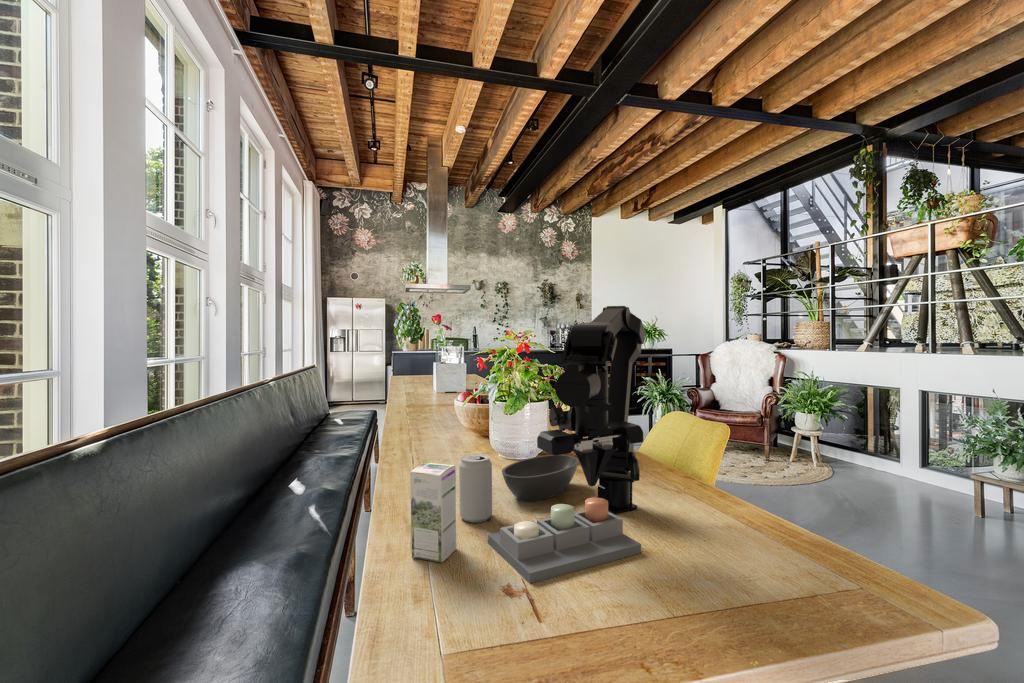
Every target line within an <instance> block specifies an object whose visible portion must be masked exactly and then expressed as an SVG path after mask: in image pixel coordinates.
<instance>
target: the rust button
mask: <svg viewBox="0 0 1024 683" xmlns="http://www.w3.org/2000/svg"><path fill="white" fill-rule="evenodd" d="M584 510H585V519H587V520H588V521H590V522H592V523H593V524H594V523H598V522H603V521H607V520H608V512H609V511H608V501H607V500H605V499H603V498H598V497H588V498H586V499H585V501H584Z"/></svg>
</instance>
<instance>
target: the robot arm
mask: <svg viewBox="0 0 1024 683" xmlns="http://www.w3.org/2000/svg"><path fill="white" fill-rule="evenodd" d="M645 332H646V331H645V328H644V324H643V321H642V319H641V318H639V317H638V316H636V315H635V314H634V313H632V312H631V310H630V308H629V306H626V305H607V306H605V307H603V308H602V311H601V312H600V313H599V314H597V316H596V317H595V318H594V319H593V320H591V321H590V322H583V323H576V324H574V325H573V326H572V327H571V328H570V330H569V331H568V333H567V336H566V341H565V345H564V349H563V353H562V358H561V362H560V363H561V366H566V371H564V372H561V374H560V375H559V376H558V377H557V379H556V382H555V384H554V391H555V395H556V397H557V398H558V400H559V401H560V402H561V404H563V405H565V406H567V407H569V410H563V408H562V407H561V406H559V407H557V406H556V407H551V408H549V411H548V412H549V414H548V421H549V425H550V426H551V427H558V429H552V430H545V431H540V433H539V434H538V436H537V438H536V440H537V441H536V442H537V443H536V444H537V448H538V449H540V450H542V451H543V452H545V453H547V454H549V455H569V454H571V453H574V454H575V457H576V458H578V459H579V463H580V467H581V469H582V472H583V474H584V477H585V480H586V482H587V485H588V486H589V487H596V485H597V498H603V499H605V500H607V501H608V512H610V513H612V514H618V513H624V512H628V511H632V510H637V509H638V505H636V504H635V503H633V484H634V483H635V482H638V481H639V482H640V479H641V478H640V477H641V476H640V474H641V473H640V471H641V470H640V466H639V465H640V464H639V460H638V459H637V454H636V452H635V451H634V449H635V448H634V446H635V445H634V444H638V443H643V442H644V431H643V429H642V427H641V425H639V424H636V423H632V422H629V412H630V411H629V408H630V399H631V398H630V396H631V388H632V387H631V384H632V371H633V364H634V363H635V362H636V360H637V359H638V358H639V356H640V355H641V353H642V347H643V346H642V345H644V344H645V340H646V335H645V334H646V333H645ZM609 366H610V367H609ZM608 368H610V370H609V369H608ZM608 370H609V371H608ZM566 430H567V431H570V432H574V433H569V432H568V433H567V432H564V431H566ZM597 483H598V484H597Z"/></svg>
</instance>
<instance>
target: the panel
mask: <svg viewBox="0 0 1024 683" xmlns="http://www.w3.org/2000/svg"><path fill="white" fill-rule="evenodd" d="M530 522H534V523H536V524H538V526H539V536H536V537H532V538H527V539H523V540H519V539H518V538H517V537H516V536H515V535H514V525H515V524H513V525H508V526H503V527H500V528H499V531H498V532H494V533H489V534H487V543H488V545H489V546H490V547H491V548H493V550H495V551H496V553H497V554H499V555H500V556H501V557H502V558H503V559H504V560H505V561H506V562H507V563H508V564H509V565H511V567H512V568H513V569H514V570H515V571H516V572H517V573H519V575H521V576H522V577H523V578H524V579H525V580H526V581H527V582H528V583H529V584H533V583H535V582H536V583H537V582H539V581H544V580H547V579H551V578H555V577H559V576H561V575H565V574H569V573H573V572H576V571H580V570H584V569H588V568H591V567H595V566H599V565H602V564H606V563H609V562H613V561H616V560H617V561H618V560H622V559H625V558H627V557H631V556H635V555H639V554H641V553H642V544H641V543H640V542H639V541H637V540H635V539H633V538H632V537H629V536H628V535H626V534H624V533H623V532H624V531H623V529H624V528H623V527H624V526H623V525H624V523H623V522H624V519H623V518H621V517H619V516H618V515H616V514H615V513H611V512H609V511H608V520H607V521H603V522H598V523H594V524H593V523H592V522H590V521H588V520H587V519H585V509H584V510H580V511H575V528H572V529H567V530H563V531H557V530H555V529H554V528H553V527H551V516H550V517H546V518H541V519H537V520H536V521H534V520H532V521H530Z"/></svg>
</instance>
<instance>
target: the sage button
mask: <svg viewBox="0 0 1024 683" xmlns="http://www.w3.org/2000/svg"><path fill="white" fill-rule="evenodd" d="M575 509H576V508H575V506H574V505H570V504H565V503H557V504H553V505H551V507H550V517H551V527H553V528H554V529H555V530H557V531H563V530H567V529H572V528H575V512H576V510H575Z"/></svg>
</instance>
